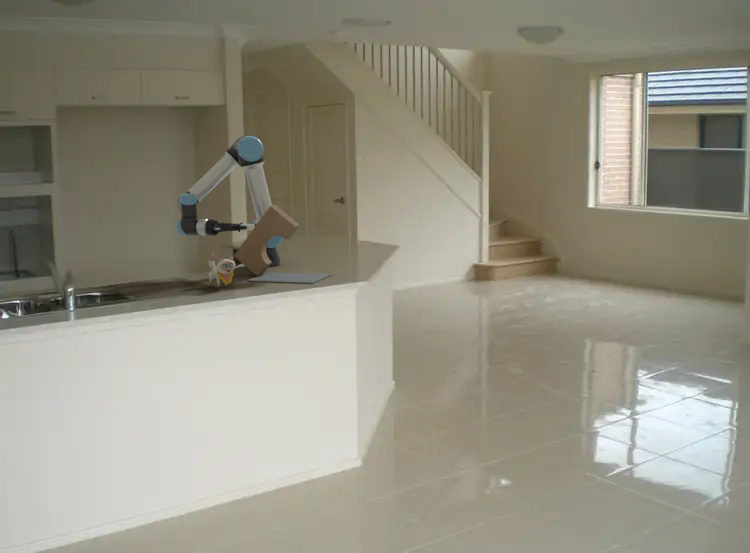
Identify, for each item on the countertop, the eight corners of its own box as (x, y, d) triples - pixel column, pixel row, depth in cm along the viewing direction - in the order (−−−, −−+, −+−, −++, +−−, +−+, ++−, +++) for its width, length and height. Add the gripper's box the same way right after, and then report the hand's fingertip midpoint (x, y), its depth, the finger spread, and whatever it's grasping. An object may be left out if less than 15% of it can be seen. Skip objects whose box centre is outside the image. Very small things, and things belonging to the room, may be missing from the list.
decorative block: (233, 256, 411) (270, 205, 403) (239, 253, 418) (275, 204, 410) (257, 276, 410) (295, 226, 402) (263, 274, 417) (300, 225, 409)
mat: (268, 273, 418) (268, 272, 418) (331, 275, 408) (331, 274, 408) (246, 281, 398) (246, 280, 398) (313, 283, 387) (312, 282, 387)
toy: (220, 290, 376) (218, 255, 374) (200, 285, 392) (198, 251, 389) (239, 288, 382) (237, 253, 379) (219, 282, 397) (217, 249, 394)
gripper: (216, 233, 423) (260, 233, 415) (201, 237, 410) (247, 237, 403) (214, 217, 421) (259, 217, 413) (200, 220, 409) (246, 220, 401)
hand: (253, 227), depth 408 cm, fingers closed
